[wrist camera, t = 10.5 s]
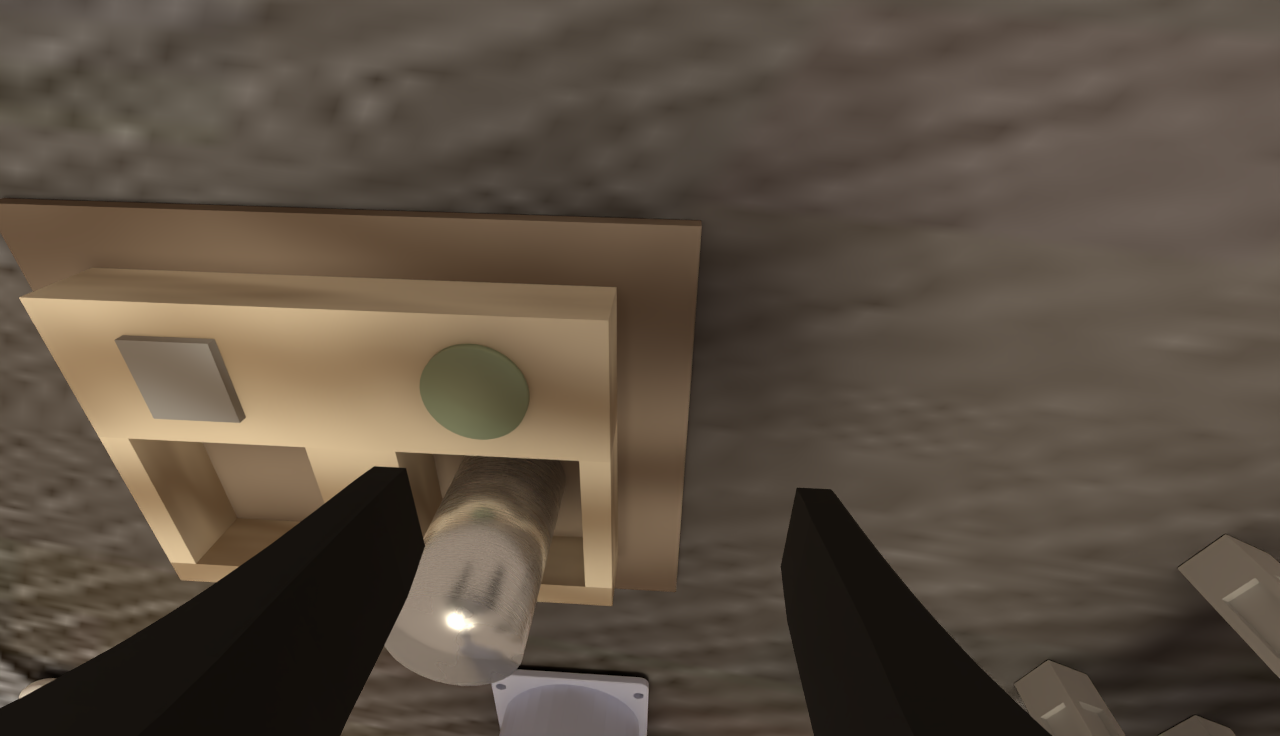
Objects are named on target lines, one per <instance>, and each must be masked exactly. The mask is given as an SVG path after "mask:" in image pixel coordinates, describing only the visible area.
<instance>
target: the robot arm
mask: <svg viewBox="0 0 1280 736" xmlns="http://www.w3.org/2000/svg"><path fill="white" fill-rule="evenodd" d="M424 548H425V543H424V539H423V535H422V531H421V527H420V523H419V519H418V515H417V511H416V507H415V502H414V498H413V494H412V490H411V486H410V482H409V478H408V474H407V470H406V468H399V467H379V466H374V467H372V468H371V469H370V470H368V471H367V472H365V473H364V474H363V475H361V476H360V477H358V478H357V479H356V480H354V481H353V482H352V483H351V484H349V485H348V486H347V487H345V488H344V489H343V490H341V491H340V492H339V493H337V494H336V495H335V496H334V497H332V498H331V499H330V500H328V501H327V502H326V503H324V504H323V505H322V506H321V507H319V508H318V509H317V510H315V511H314V512H313V513H311V514H310V515H309V516H307V517H306V518H305V519H304V520H302V521H301V522H300V523H298V524H297V525H296V526H294V527H293V528H292V529H290V530H289V531H288V532H286V533H285V534H284V535H282V536H281V537H280V538H278V539H277V540H276V541H274V542H273V543H272V544H270V545H269V546H268V547H266V548H265V549H263V550H262V551H260V552H259V553H258V554H256V555H255V556H253V557H252V558H250V559H249V560H248V561H246V562H245V563H243V564H242V565H240V566H239V567H238V568H236V569H235V570H233V571H232V572H230V573H229V574H228V575H226V576H225V577H223V578H222V579H221V580H219V581H218V582H216V583H215V584H213V585H212V586H211V587H209V588H208V589H206V590H205V591H203V592H202V593H200V594H199V595H197V596H196V597H194V598H193V599H191V600H190V601H188V602H186V603H185V604H183V605H182V606H180V607H179V608H177V609H175V610H174V611H172V612H171V613H169V614H168V615H166V616H164V617H163V618H161V619H159V620H158V621H156V622H154V623H153V624H151V625H150V626H148V627H146V628H145V629H143V630H141V631H140V632H138V633H136V634H135V635H133V636H132V637H130V638H128V639H126V640H125V641H123V642H121V643H120V644H118V645H116V646H115V647H113V648H111V649H109V650H107V651H106V652H104V653H102V654H100V655H98V656H97V657H95V658H93V659H91V660H89V661H87V662H86V663H84V664H82V665H80V666H78V667H77V668H75V669H73V670H71V671H69V672H67V673H66V674H64V675H62V676H60V677H58V678H57V679H55V680H53V681H51V682H49V683H47V684H46V685H44V686H42V687H40V688H38V689H36V690H35V691H33V692H31V693H29V694H27V695H25V696H23V697H21V698H20V699H18V700H16V701H14V702H12V703H10V704H8V705H6V706H4V707H2V708H0V736H340V735H341V732H342V730H343V728H344V726H345V724H346V721H347V719H348V717H349V715H350V713H351V711H352V709H353V707H354V705H355V703H356V701H357V699H358V697H359V695H360V693H361V691H362V689H363V687H364V685H365V683H366V681H367V679H368V677H369V675H370V673H371V671H372V669H373V667H374V665H375V663H376V661H377V659H378V657H379V655H380V653H381V651H382V649H383V647H384V645H385V643H386V641H387V639H388V637H389V635H390V633H391V630H392V628H393V626H394V624H395V622H396V620H397V618H398V616H399V614H400V612H401V610H402V608H403V606H404V604H405V601H406V599H407V597H408V594H409V592H410V589H411V586H412V583H413V581H414V578H415V575H416V572H417V569H418V566H419V563H420V560H421V557H422V554H423V551H424ZM781 571H782V580H783V590H784V598H785V606H786V614H787V622H788V626H789V630H790V635H791V639H792V644H793V648H794V652H795V657H796V661H797V665H798V669H799V674H800V678H801V682H802V686H803V691H804V695H805V699H806V703H807V707H808V712H809V716H810V720H811V724H812V729H813V733H814V736H1052V735H1051V734H1050V733H1049V732H1048V731H1047V730H1045V729H1044V728H1043V727H1042V726H1041V725H1040V724H1039V723H1038V722H1037V721H1036V720H1035V719H1033V718H1032V717H1031V716H1030V715H1029V714H1028V713H1027V712H1026V711H1025V710H1024V709H1022V708H1021V707H1020V706H1019V705H1018V704H1017V703H1016V702H1015V701H1014V700H1013V699H1012V698H1011V697H1010V696H1009V695H1008V694H1007V693H1006V692H1005V691H1004V690H1003V689H1002V688H1001V687H1000V686H999V685H998V684H997V683H996V682H995V681H993V680H992V679H991V678H990V677H989V676H988V675H987V674H986V673H985V672H984V671H983V670H982V669H981V668H980V667H979V666H978V665H977V664H976V663H975V662H974V661H973V659H972V658H971V657H970V656H969V655H968V654H967V653H966V652H965V651H964V650H963V649H962V648H961V647H960V646H959V645H958V644H957V643H956V642H955V641H954V639H953V638H952V637H951V636H950V635H949V634H948V633H947V632H946V631H945V629H944V628H943V627H942V626H941V625H940V624H939V623H938V622H937V621H936V620H935V618H934V617H933V616H932V615H931V614H930V613H929V612H928V611H927V609H926V608H925V607H924V606H923V605H922V604H921V603H920V601H919V600H918V599H917V598H916V597H915V596H914V594H913V593H912V592H911V591H910V589H909V588H908V587H907V586H906V585H905V583H904V582H903V581H902V580H901V579H900V577H899V576H898V575H897V574H896V573H895V571H894V570H893V569H892V568H891V567H890V565H889V564H888V563H887V562H886V560H885V559H884V558H883V557H882V555H881V554H880V553H879V551H878V550H877V549H876V548H875V546H874V545H873V544H872V542H871V541H870V540H869V538H868V537H867V536H866V535H865V533H864V532H863V531H862V529H861V528H860V527H859V525H858V524H857V523H856V521H855V520H854V519H853V517H852V516H851V515H850V513H849V512H848V511H847V509H846V508H845V507H844V505H843V504H842V502H841V501H840V500H839V498H838V497H837V496H836V494H835V493H834V492H833V491H832V490H831V489H812V488H797V489H796V494H795V499H794V504H793V509H792V514H791V519H790V524H789V529H788V534H787V539H786V544H785V548H784V553H783V558H782V563H781ZM491 685H492V690H493V695H494V700H495V705H496V710H497V715H498V720H499V725H500V734H499V736H647V719H648V695H649V683H648V681H647V680H646V679H644V678H641V677H629V676H614V675H598V674H583V673H568V672H552V671H537V670H522V669H517V670H516V671H515V672H514V673H513V674H511V675H510V676H508V677H507V678H505V679H503V680H500V681H498V682H495V683H491Z"/></svg>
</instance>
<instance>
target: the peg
mask: <svg viewBox="0 0 1280 736" xmlns="http://www.w3.org/2000/svg"><path fill="white" fill-rule="evenodd" d="M565 485H566V477H565V472H564V469H563V467H562V465H561V463H560V461H559V460H550V459H530V458H510V457H490V456H470V455H465V457H464V458H463V460H462V462H461V464H460V466H459V468H458V470H457V472H456V474H455V476H454V478H453V480H452V482H451V484H450V486H449V488H448V490H447V492H446V494H445V496H444V498H443V500H442V502H441V504H440V506H439V508H438V510H437V512H436V514H435V516H434V518H433V520H432V522H431V524H430V526H429V528H428V530H427V532H426V534H425V536H424V538H423V539H424V543H425V548H424V551H423V554H422V557H421V560H420V563H419V566H418V569H417V572H416V575H415V578H414V581H413V583H412V586H411V589H410V592H409V594H408V597H407V599H406V601H405V604H404V606H403V608H402V610H401V612H400V614H399V616H398V618H397V620H396V622H395V624H394V626H393V628H392V630H391V633H390V635H389V637H388V639H387V641H386V643H385V645H384V646H385V647H386V649H387V650H388V652H389V653H390V654H391V655H392V656H393V657H394V658H395V659H396V660H397V661H398V662H399V663H401V664H402V665H403V666H405V667H406V668H408V669H409V670H411V671H413V672H415V673H417V674H419V675H421V676H423V677H426V678H428V679H431V680H434V681H438V682H442V683H446V684H452V685H460V686H479V685H487V684H491V683H495V682H498V681H500V680H503V679H505V678H507V677H508V676H510V675H511V674H513V673H514V672H515V671H516V670H517V668H518V667H519V665H520V664H521V661H522V658H523V654H524V650H525V646H526V642H527V638H528V634H529V630H530V626H531V622H532V618H533V614H534V610H535V606H536V602H537V598H538V594H539V590H540V586H541V582H542V578H543V574H544V570H545V566H546V562H547V558H548V554H549V550H550V546H551V542H552V538H553V534H554V530H555V526H556V522H557V518H558V514H559V510H560V506H561V502H562V498H563V494H564V490H565Z"/></svg>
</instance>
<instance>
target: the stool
mask: <svg viewBox="0 0 1280 736" xmlns="http://www.w3.org/2000/svg"><path fill="white" fill-rule="evenodd" d="M1177 569H1178V570H1179V571H1180V572H1181V573H1182V574H1183V575H1184V576H1185V577H1186V578H1187V579H1188V581H1189V582H1190V583H1191V584H1192V585H1193V586H1194V587H1195V588H1196V589H1197V590H1198V591H1199V592H1200V593H1201V595H1202V596H1203V597H1204V598H1205V599H1206V600H1207V601H1208V602H1209V603H1210V604H1211V605H1212V606H1213V607H1214V609H1215V610H1216V611H1217V612H1218V613H1219V614H1220V615H1221V616H1222V617H1223V618H1224V619H1225V620H1226V621H1227V622H1228V624H1229V625H1230V626H1231V627H1232V628H1233V629H1234V630H1235V631H1236V632H1237V633H1238V634H1239V635H1240V636H1241V638H1242V639H1243V640H1244V641H1245V642H1246V643H1247V644H1248V645H1249V646H1250V647H1251V648H1252V649H1253V650H1254V652H1255V653H1256V654H1257V655H1258V656H1259V657H1260V658H1261V659H1262V660H1263V661H1264V662H1265V663H1266V664H1267V666H1268V667H1269V668H1270V669H1271V670H1272V671H1273V672H1274V673H1275V674H1276V675H1277V676H1278V677H1279V678H1280V563H1279V562H1278V561H1277V560H1275V559H1274V558H1273V557H1272V556H1271V555H1270V554H1268V553H1266V552H1264V551H1262V550H1259V549H1257V548H1255V547H1253V546H1251V545H1248V544H1246V543H1244V542H1242V541H1240V540H1237V539H1235V538H1233V537H1231V536H1229V535H1226V534H1225V535H1224V536H1222V537H1221V538H1219V539H1218V540H1217V541H1215V542H1214V543H1212V544H1211V545H1210V546H1208V547H1207V548H1205V549H1204V550H1202V551H1201V552H1200V553H1198V554H1197V555H1195V556H1194V557H1192V558H1191V559H1190V560H1188V561H1187V562H1185V563H1184V564H1183V565H1181V566H1180V567H1178V568H1177ZM1014 685H1015V687H1016V689H1017V691H1018V693H1019V694H1020V696H1021V698H1022V700H1023V702H1024V704H1025V706H1026V708H1027V710H1028V712H1029V714H1030V716H1031V717H1032V718H1033V719H1035V720H1036V721H1037V722H1038V723H1039V724H1040V725H1041V726H1042V727H1043V728H1044V729H1045V730H1047V731H1048V732H1049V733H1050V734H1051V735H1052V736H1126V735H1125V734H1124V732H1123V731H1122V729H1121V727H1120V726H1119V724H1118V723H1117V721H1116V720H1115V718H1114V716H1113V715H1112V713H1111V712H1110V710H1109V709H1108V707H1107V705H1106V704H1105V702H1104V701H1103V699H1102V698H1101V696H1100V694H1099V693H1098V691H1097V690H1096V688H1095V687H1094V685H1093V683H1092V682H1091V680H1090V679H1089V677H1088V676H1087V674H1084V673H1081V672H1079V671H1076V670H1073V669H1071V668H1068V667H1066V666H1063V665H1060V664H1058V663H1055V662H1052V661H1050V660H1047V661H1046V662H1044V663H1043V664H1042V665H1040V666H1039V667H1037V668H1036V669H1034V670H1033V671H1032V672H1030V673H1029V674H1027V675H1026V676H1024V677H1023V678H1022V679H1020V680H1019V681H1017V682H1016V683H1014ZM1158 736H1236V735H1235V734H1234V733H1233V731H1232V730H1231V729H1230V728H1228V727H1225V726H1223V725H1220V724H1217V723H1215V722H1212V721H1209V720H1207V719H1204V718H1202V717H1199V716H1196V715H1194V716H1193V717H1191V718H1189V719H1187V720H1185V721H1184V722H1182V723H1180V724H1178V725H1176V726H1175V727H1173V728H1171V729H1169V730H1167V731H1165V732H1164V733H1162V734H1160V735H1158Z"/></svg>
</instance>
